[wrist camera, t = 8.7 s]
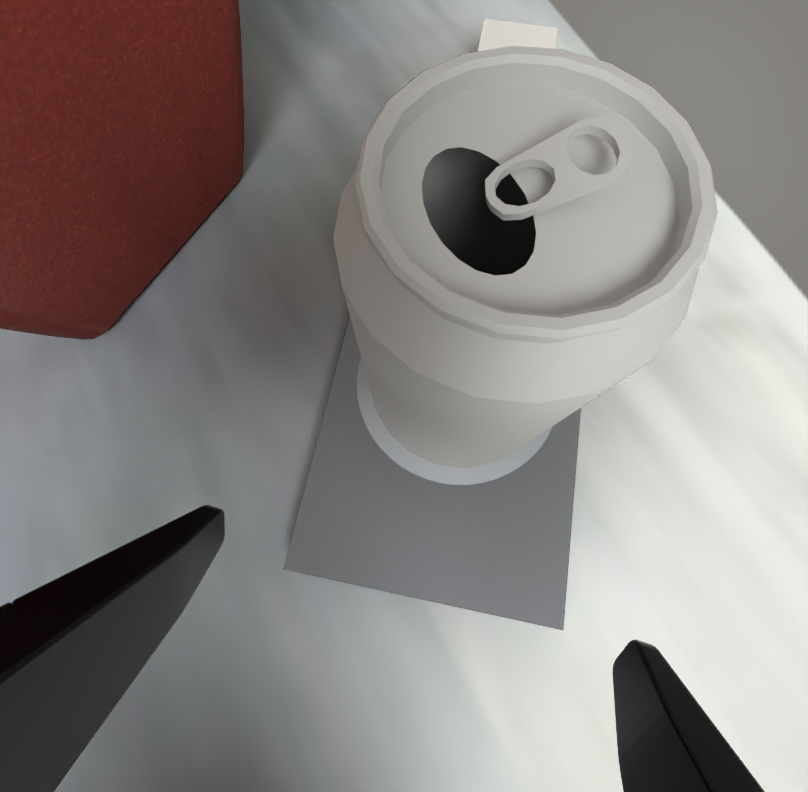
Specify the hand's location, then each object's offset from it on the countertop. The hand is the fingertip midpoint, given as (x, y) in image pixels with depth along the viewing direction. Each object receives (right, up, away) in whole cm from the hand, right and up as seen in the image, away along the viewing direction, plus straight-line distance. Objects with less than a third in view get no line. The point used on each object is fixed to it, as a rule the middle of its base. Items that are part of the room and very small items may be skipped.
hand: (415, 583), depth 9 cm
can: (+2, +4, +10) cm, 11 cm away
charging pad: (+3, +10, +13) cm, 16 cm away
